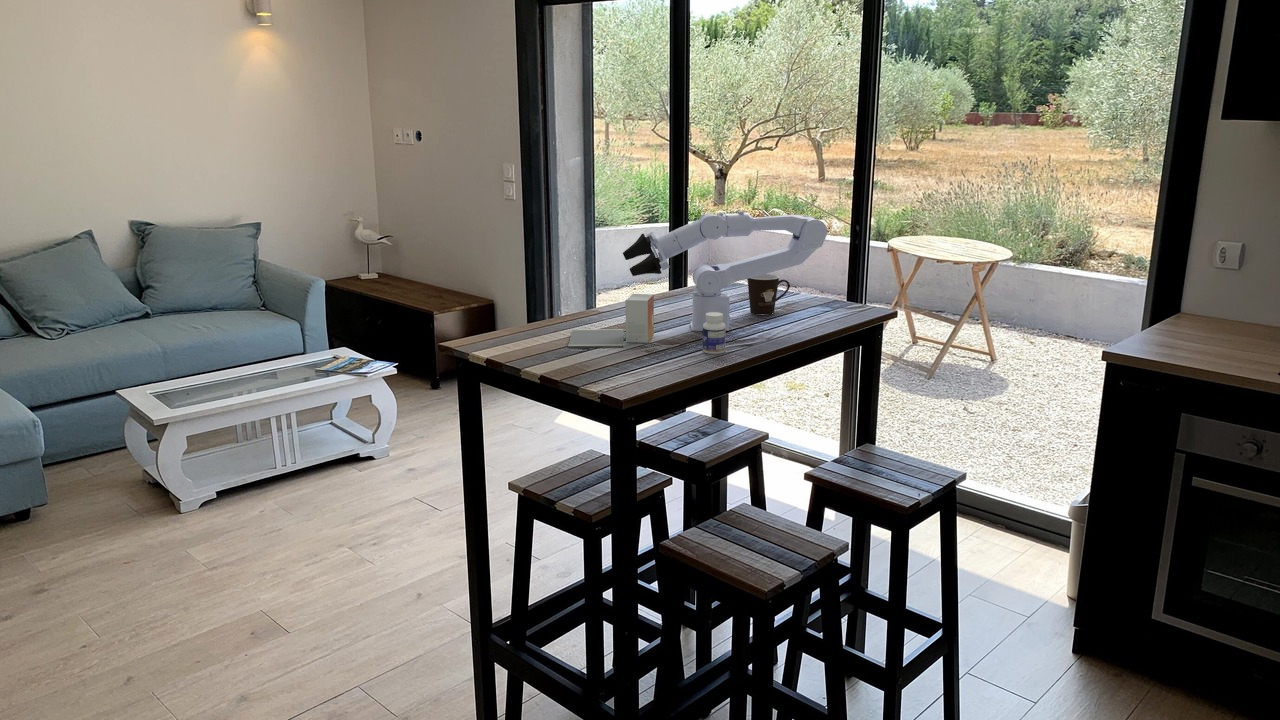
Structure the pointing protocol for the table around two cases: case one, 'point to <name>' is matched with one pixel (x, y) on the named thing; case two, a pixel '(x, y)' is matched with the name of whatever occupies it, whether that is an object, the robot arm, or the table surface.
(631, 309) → the small box
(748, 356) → the table surface
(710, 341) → the pill bottle
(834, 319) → the table surface
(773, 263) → the robot arm
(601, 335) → the mat
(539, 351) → the table surface
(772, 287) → the coffee mug
